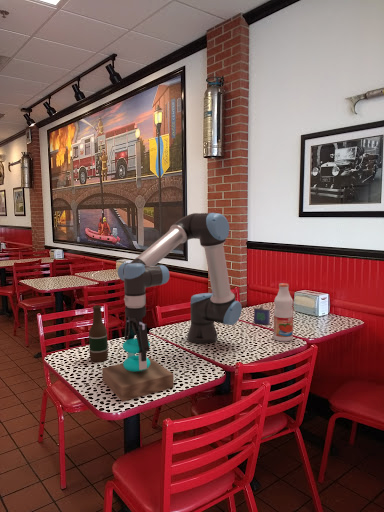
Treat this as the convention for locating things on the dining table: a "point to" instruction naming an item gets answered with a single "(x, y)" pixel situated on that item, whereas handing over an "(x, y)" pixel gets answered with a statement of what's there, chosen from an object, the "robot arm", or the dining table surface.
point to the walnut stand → (137, 380)
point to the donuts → (133, 361)
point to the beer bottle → (98, 337)
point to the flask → (261, 316)
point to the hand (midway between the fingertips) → (136, 364)
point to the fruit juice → (283, 314)
